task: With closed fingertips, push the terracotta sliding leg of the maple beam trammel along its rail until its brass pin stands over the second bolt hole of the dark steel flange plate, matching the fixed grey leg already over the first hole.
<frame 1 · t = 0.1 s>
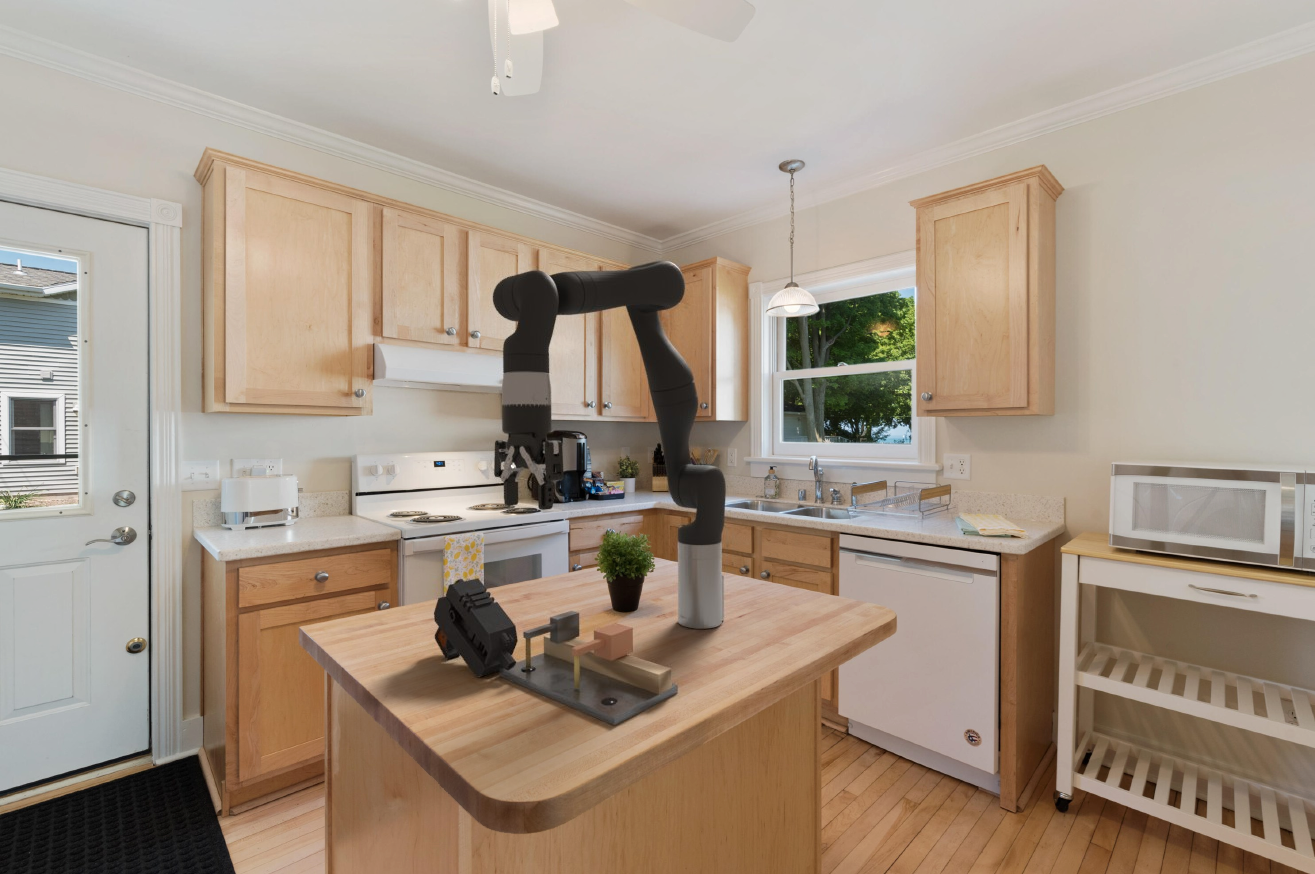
hand: (527, 507, 96), 29 cm above the countertop, fingers open, 8 cm apart
slider leg: (600, 655, 99), point 5 cm above the countertop, slide at 0.0 cm
tool: (475, 667, 108), on the countertop
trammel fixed: (589, 652, 101), on the hole plate, point 5 cm above the countertop
hole plate: (585, 683, 100), on the countertop
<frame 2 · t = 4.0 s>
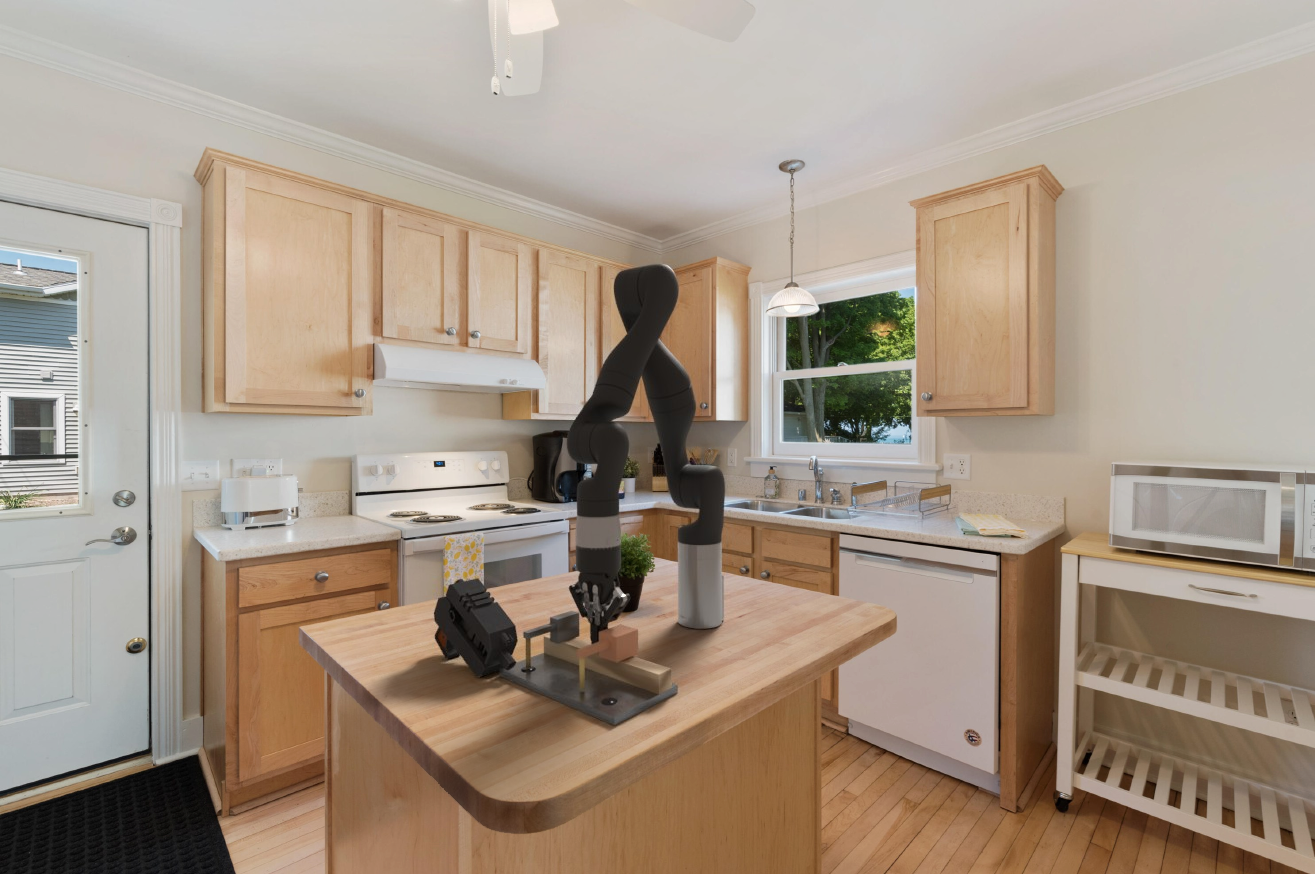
hand: (599, 645, 103), 5 cm above the countertop, fingers closed
slider leg: (605, 656, 98), point 5 cm above the countertop, slide at 1.2 cm, touching gripper
everything else where it was.
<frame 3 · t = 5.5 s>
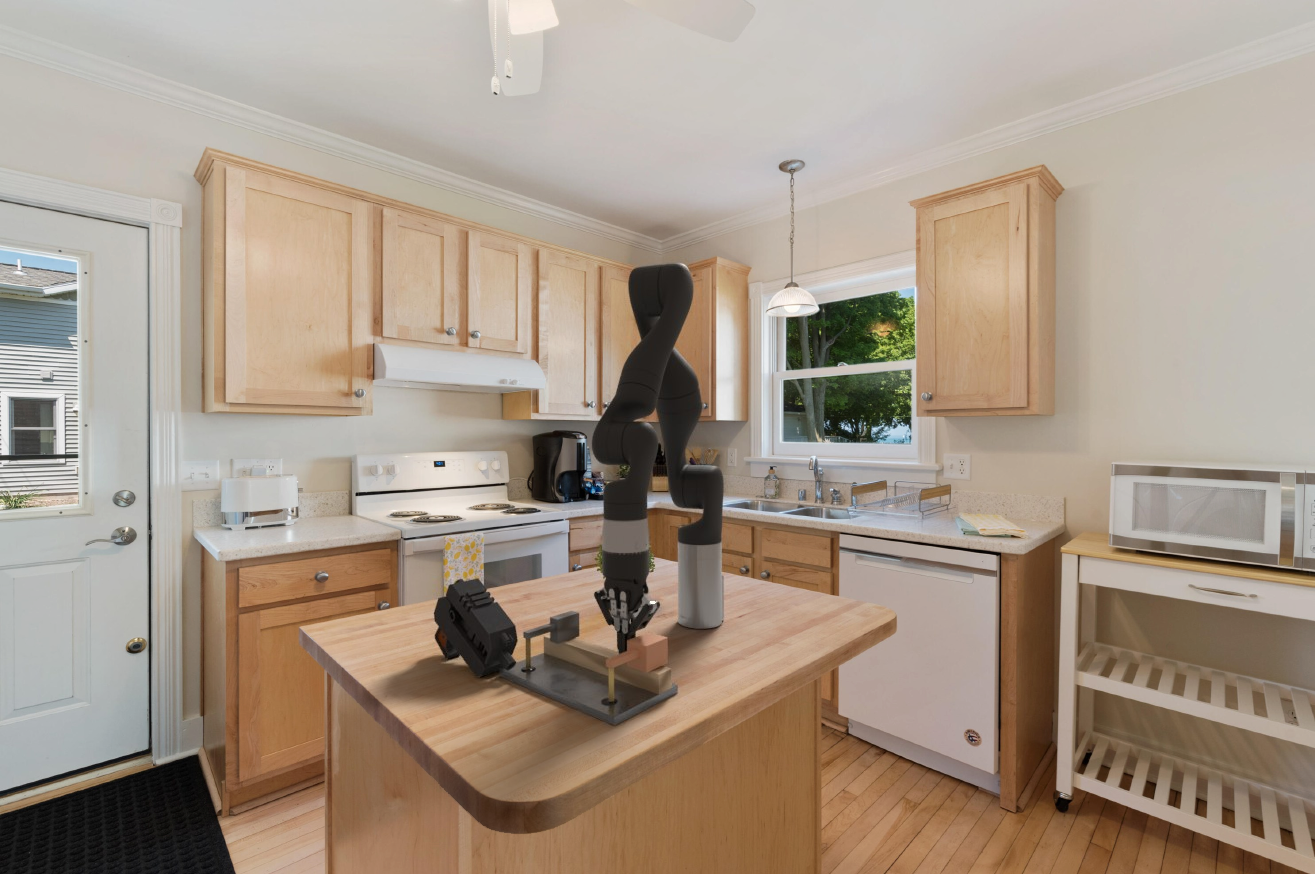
hand: (626, 653, 99), 5 cm above the countertop, fingers closed
slider leg: (634, 666, 94), point 5 cm above the countertop, slide at 7.4 cm, touching gripper
everything else where it was.
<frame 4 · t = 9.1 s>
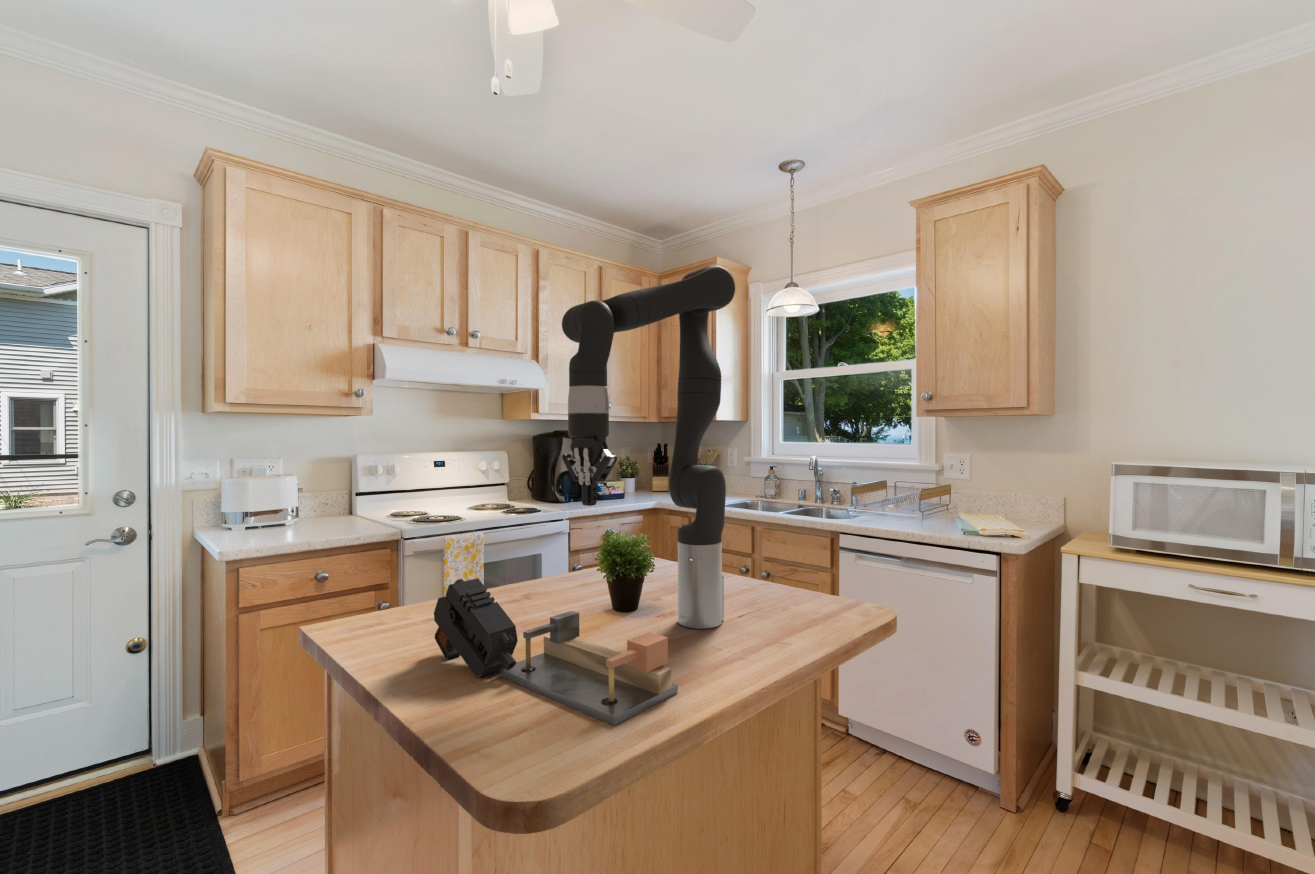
hand: (589, 505, 115), 27 cm above the countertop, fingers closed
slider leg: (634, 666, 94), point 5 cm above the countertop, slide at 7.5 cm
everything else where it was.
at the end: slider leg slide at 7.5 cm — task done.
